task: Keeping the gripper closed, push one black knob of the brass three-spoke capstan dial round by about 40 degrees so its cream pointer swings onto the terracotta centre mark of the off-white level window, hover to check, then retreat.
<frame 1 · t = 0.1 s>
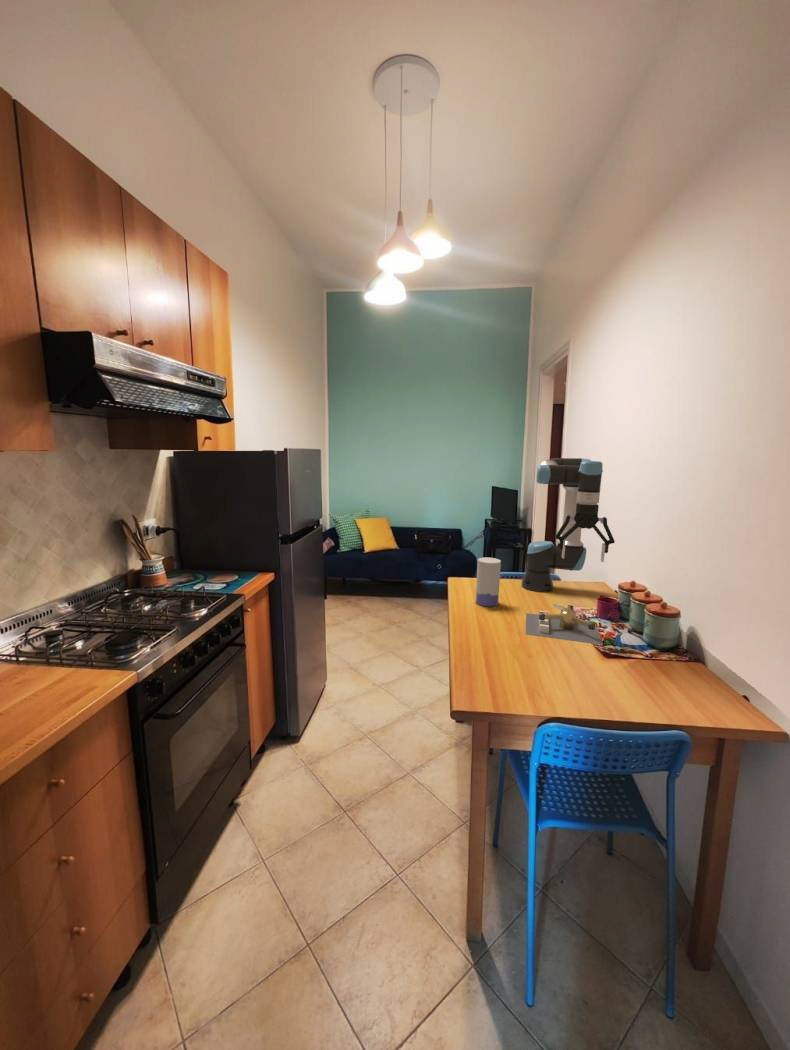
hand: (582, 559, 160), 28 cm above the table, fingers open, 13 cm apart
stand: (561, 630, 163), on the table
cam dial: (572, 620, 161), point 5 cm above the table, hinge at -40.0°
container: (486, 603, 192), on the table
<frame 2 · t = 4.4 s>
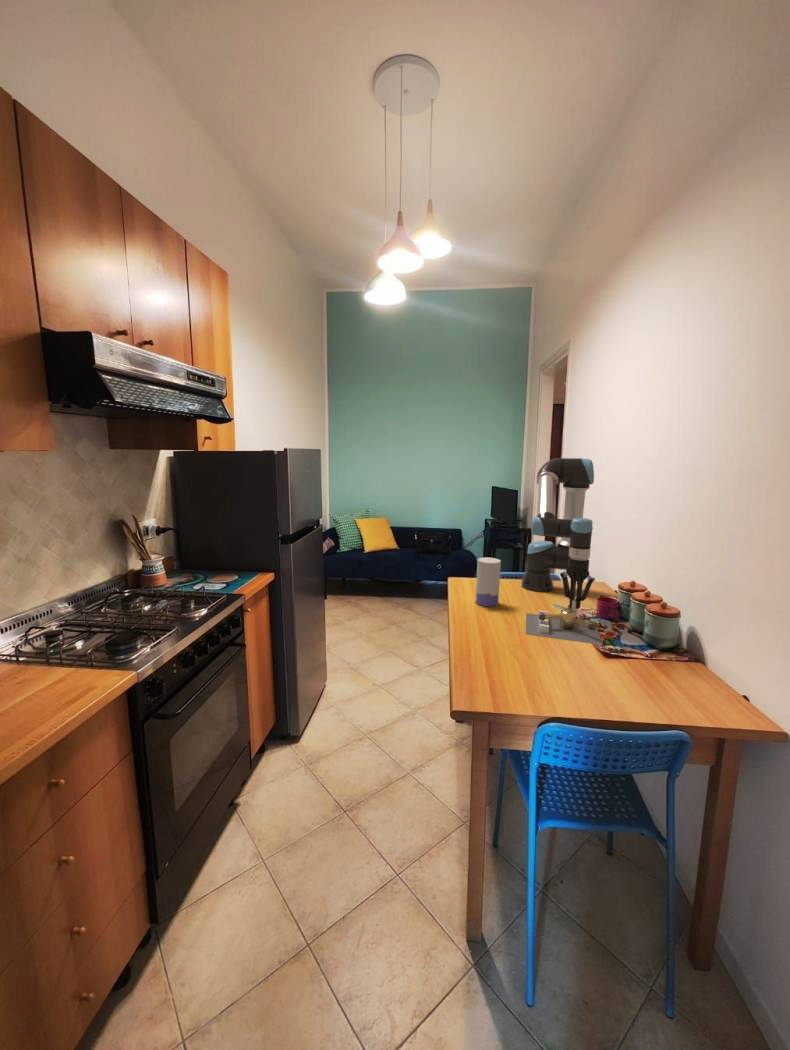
hand: (573, 615, 170), 3 cm above the table, fingers closed
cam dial: (572, 620, 161), point 5 cm above the table, hinge at -40.0°, touching gripper
everything else where it was.
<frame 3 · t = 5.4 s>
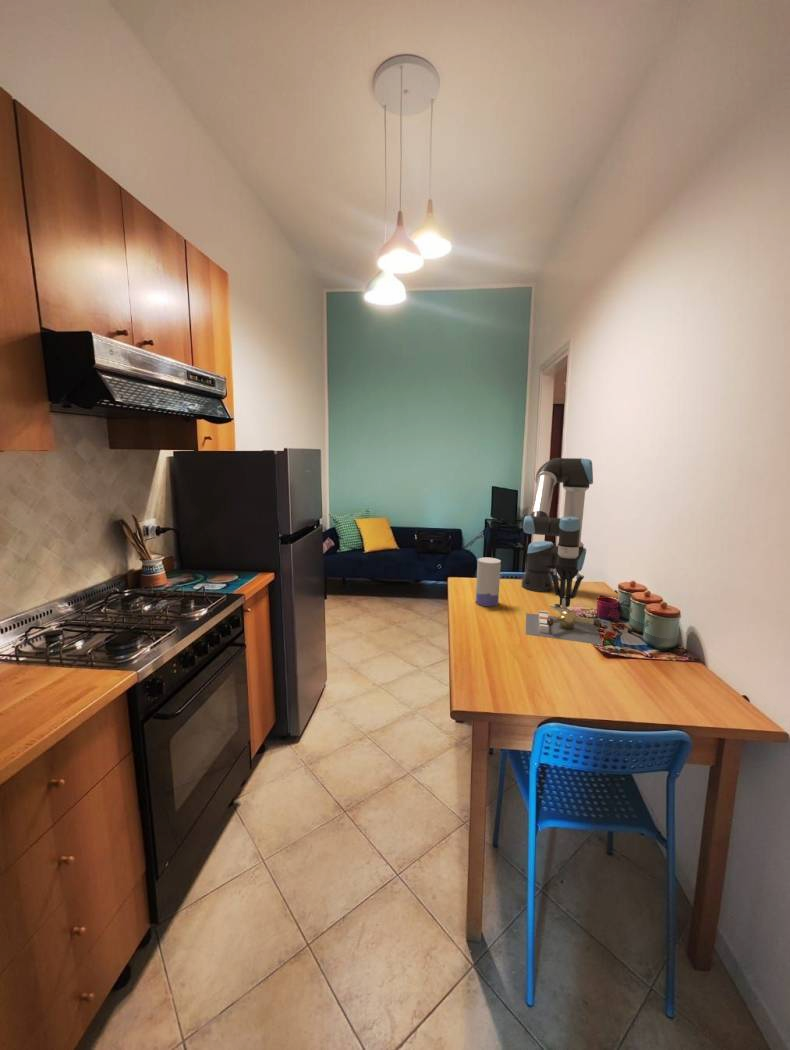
hand: (564, 613, 171), 4 cm above the table, fingers closed
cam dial: (573, 619, 162), point 5 cm above the table, hinge at -11.8°, touching gripper
everything else where it was.
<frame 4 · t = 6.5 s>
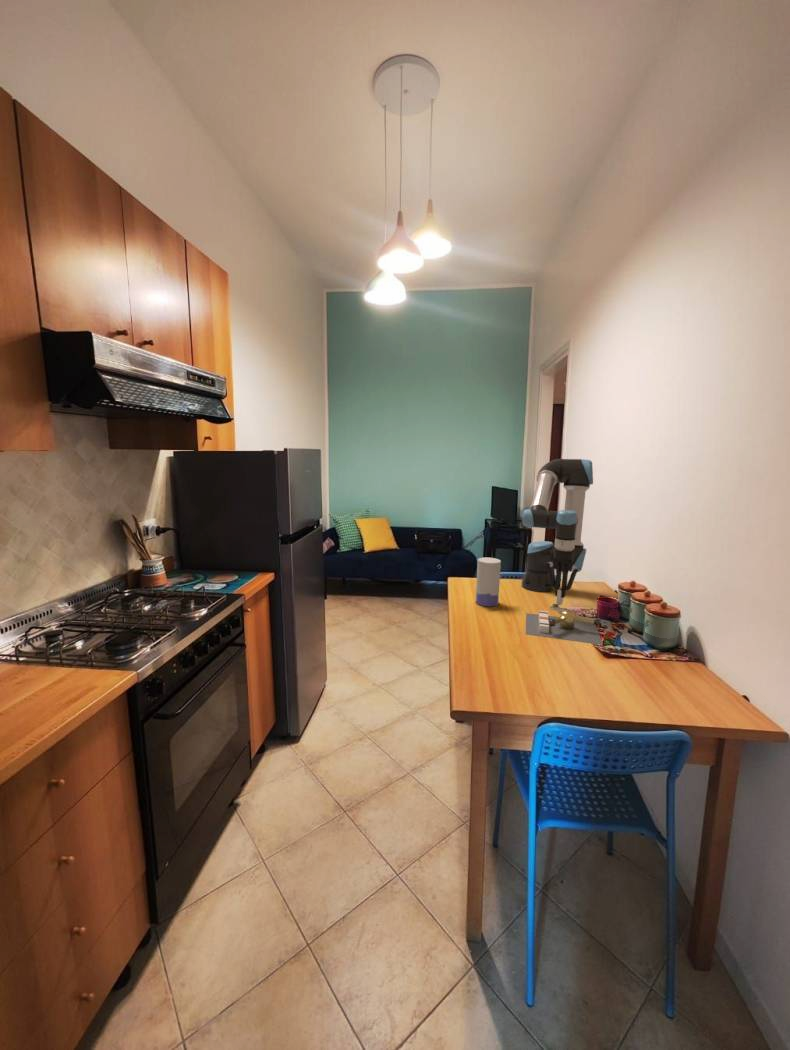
hand: (559, 604, 176), 5 cm above the table, fingers closed
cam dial: (573, 619, 162), point 5 cm above the table, hinge at -6.7°
everything else where it was.
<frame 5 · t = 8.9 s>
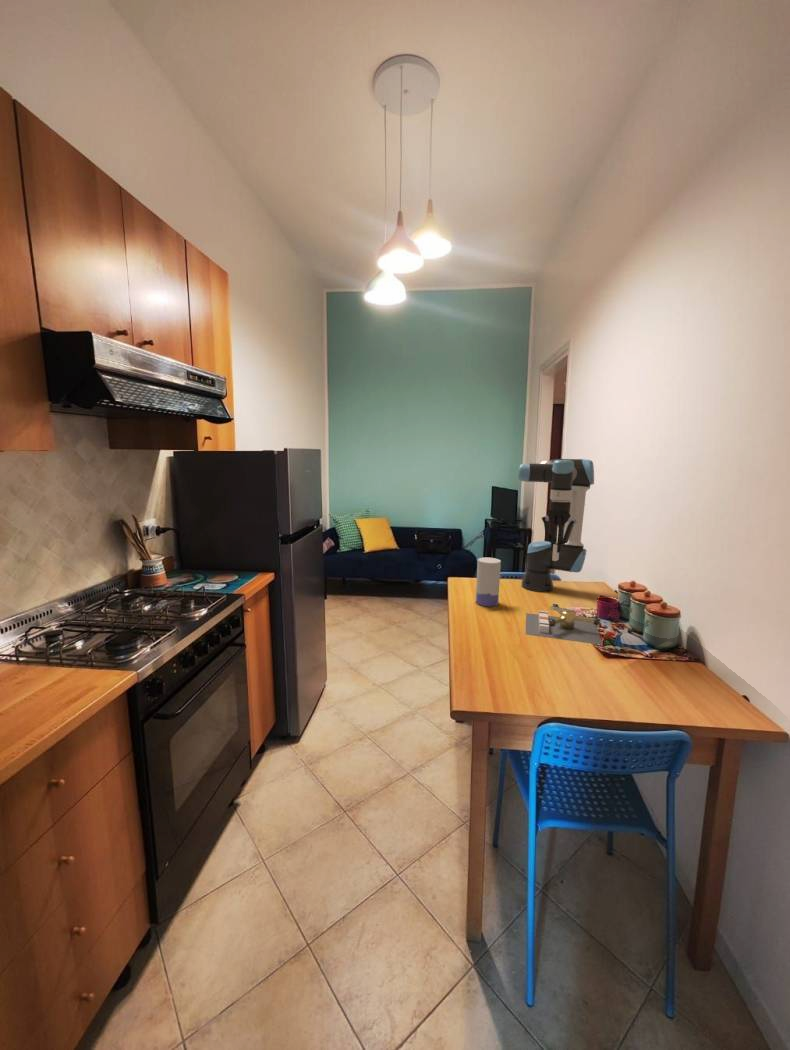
hand: (555, 560, 168), 25 cm above the table, fingers closed
nothing on the table moved.
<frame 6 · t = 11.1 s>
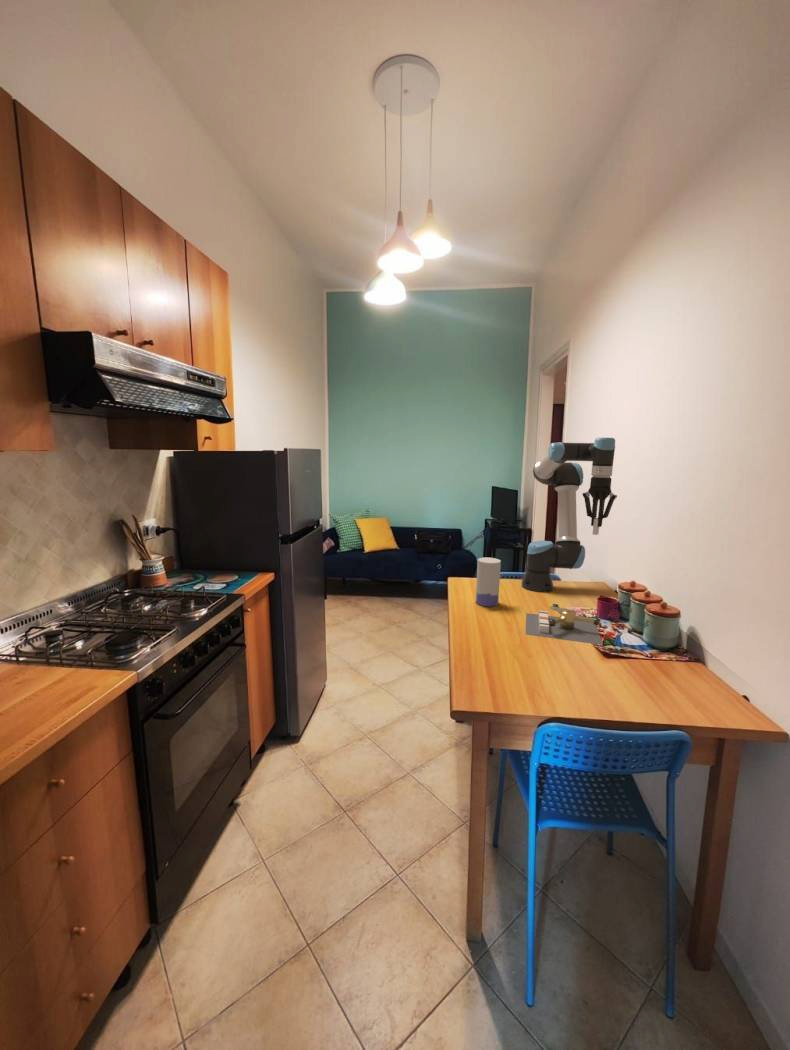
hand: (595, 534, 175), 34 cm above the table, fingers closed
nothing on the table moved.
at the end: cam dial at -7° (first picture: -40°) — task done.
